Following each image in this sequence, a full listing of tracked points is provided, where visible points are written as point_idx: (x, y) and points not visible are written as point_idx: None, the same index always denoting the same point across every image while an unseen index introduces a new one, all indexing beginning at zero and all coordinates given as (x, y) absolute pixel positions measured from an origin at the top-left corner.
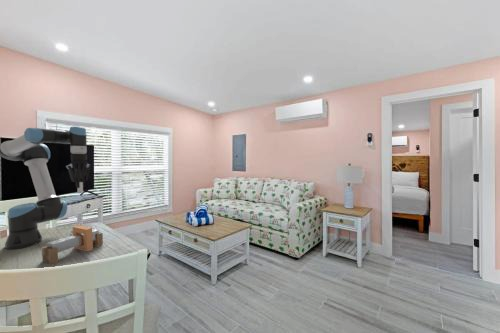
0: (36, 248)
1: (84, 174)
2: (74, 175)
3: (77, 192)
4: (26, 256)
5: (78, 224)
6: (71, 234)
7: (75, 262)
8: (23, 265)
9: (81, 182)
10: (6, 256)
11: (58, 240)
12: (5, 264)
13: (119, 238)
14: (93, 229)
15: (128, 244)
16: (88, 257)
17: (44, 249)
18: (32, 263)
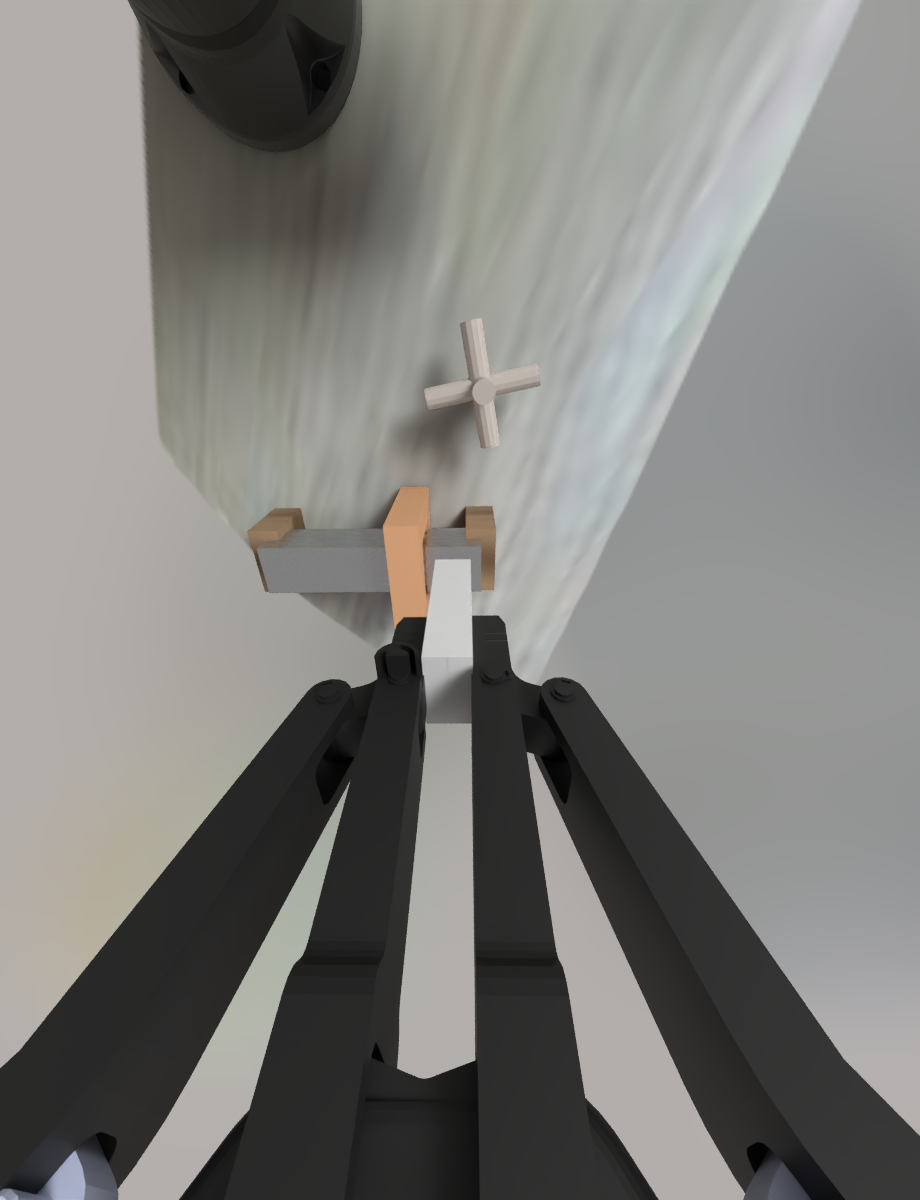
0: (291, 265)
1: (596, 807)
2: (299, 863)
3: (435, 563)
4: (235, 365)
5: (482, 387)
6: (427, 404)
7: (346, 623)
8: (216, 478)
9: (452, 721)
10: (157, 239)
11: (300, 564)
12: (159, 386)
13: (573, 563)
14: (476, 556)
15: (531, 650)
16: (388, 625)
17: (255, 548)
18: (244, 491)
